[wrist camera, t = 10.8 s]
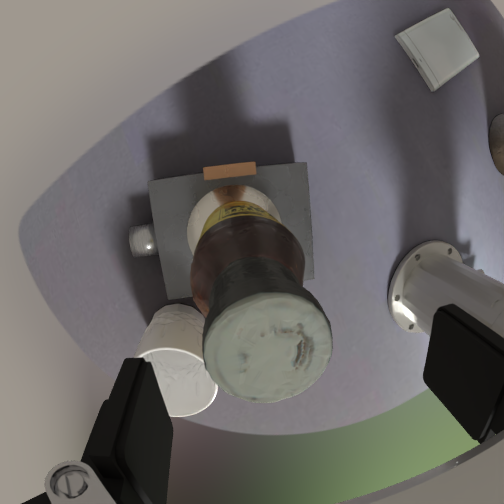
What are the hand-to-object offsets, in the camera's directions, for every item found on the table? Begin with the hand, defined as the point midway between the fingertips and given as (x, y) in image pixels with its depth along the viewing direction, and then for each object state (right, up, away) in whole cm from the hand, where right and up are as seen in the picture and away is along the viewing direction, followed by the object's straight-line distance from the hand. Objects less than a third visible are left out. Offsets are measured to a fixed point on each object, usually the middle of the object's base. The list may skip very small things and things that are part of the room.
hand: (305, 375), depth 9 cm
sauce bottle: (-3, +5, +19) cm, 20 cm away
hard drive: (+22, +30, +21) cm, 43 cm away
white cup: (-10, -5, +26) cm, 28 cm away
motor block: (-5, +6, +23) cm, 24 cm away
